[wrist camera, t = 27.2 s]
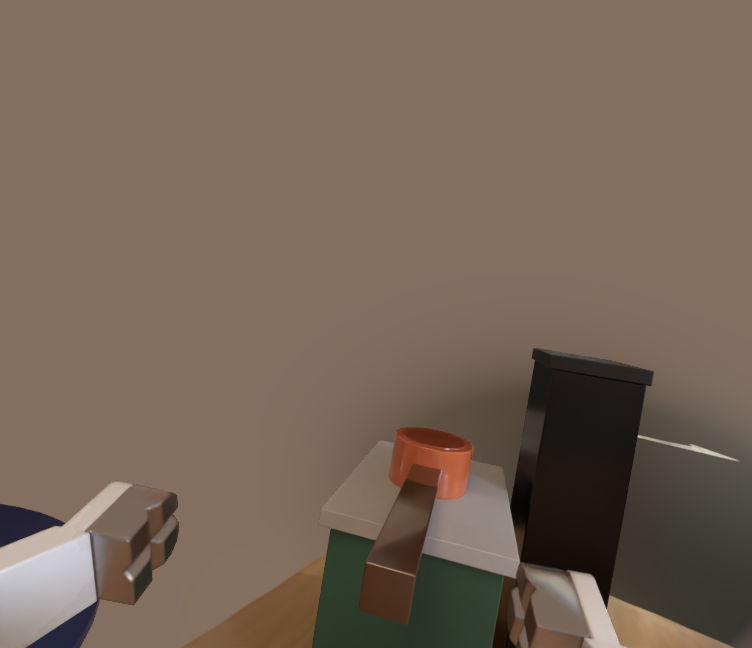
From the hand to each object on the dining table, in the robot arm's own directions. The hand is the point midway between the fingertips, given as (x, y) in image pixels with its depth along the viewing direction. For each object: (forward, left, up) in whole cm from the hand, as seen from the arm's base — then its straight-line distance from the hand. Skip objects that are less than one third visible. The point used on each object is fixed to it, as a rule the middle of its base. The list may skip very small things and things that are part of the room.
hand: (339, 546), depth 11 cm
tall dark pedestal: (+11, +28, -22) cm, 37 cm away
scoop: (+1, +16, -6) cm, 17 cm away
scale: (+1, +22, -22) cm, 31 cm away
